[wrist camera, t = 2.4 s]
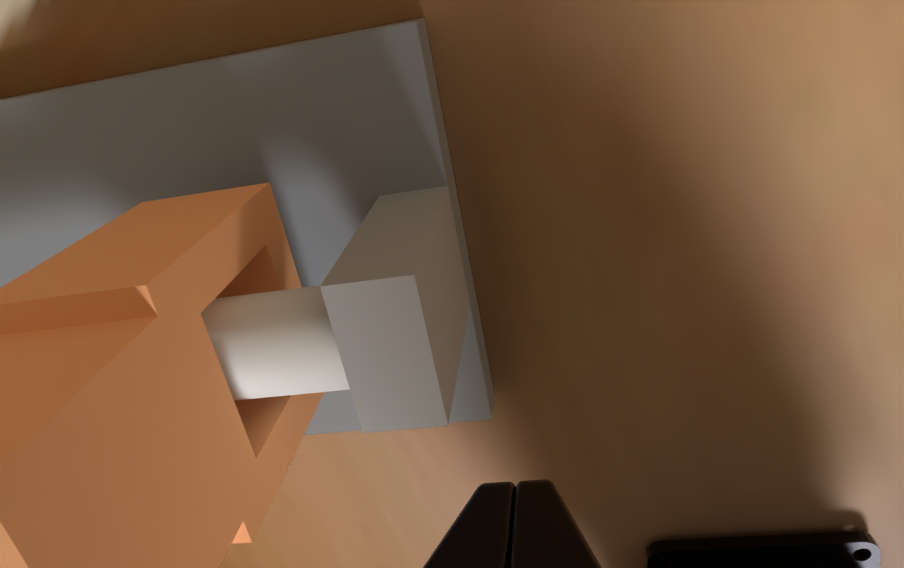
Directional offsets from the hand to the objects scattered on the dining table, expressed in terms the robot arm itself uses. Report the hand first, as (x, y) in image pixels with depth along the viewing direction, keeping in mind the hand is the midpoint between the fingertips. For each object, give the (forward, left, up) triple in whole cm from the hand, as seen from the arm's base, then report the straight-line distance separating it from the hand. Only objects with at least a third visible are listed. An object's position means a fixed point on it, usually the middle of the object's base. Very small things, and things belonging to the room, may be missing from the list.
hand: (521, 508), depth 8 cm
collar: (+7, 0, -7) cm, 10 cm away
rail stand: (+11, 0, -10) cm, 14 cm away
